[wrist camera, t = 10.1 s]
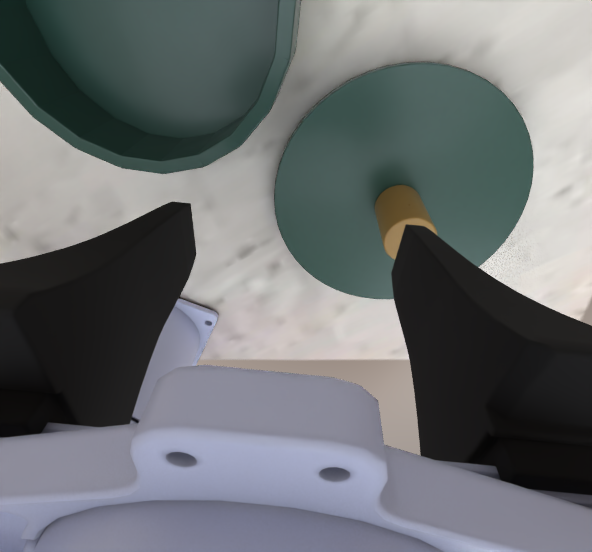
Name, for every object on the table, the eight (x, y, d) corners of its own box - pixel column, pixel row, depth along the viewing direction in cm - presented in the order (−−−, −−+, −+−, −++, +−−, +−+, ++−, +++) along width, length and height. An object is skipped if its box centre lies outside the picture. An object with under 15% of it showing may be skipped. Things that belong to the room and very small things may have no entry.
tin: (242, 183, 20) (229, 215, 17) (8, 77, 18) (-56, 92, 15) (355, -99, 13) (365, -128, 10) (-5, -345, 11) (-130, -478, 8)
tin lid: (419, 314, 25) (436, 368, 22) (242, 240, 22) (227, 288, 19) (584, 141, 18) (654, 178, 14) (351, -2, 15) (361, -4, 11)
